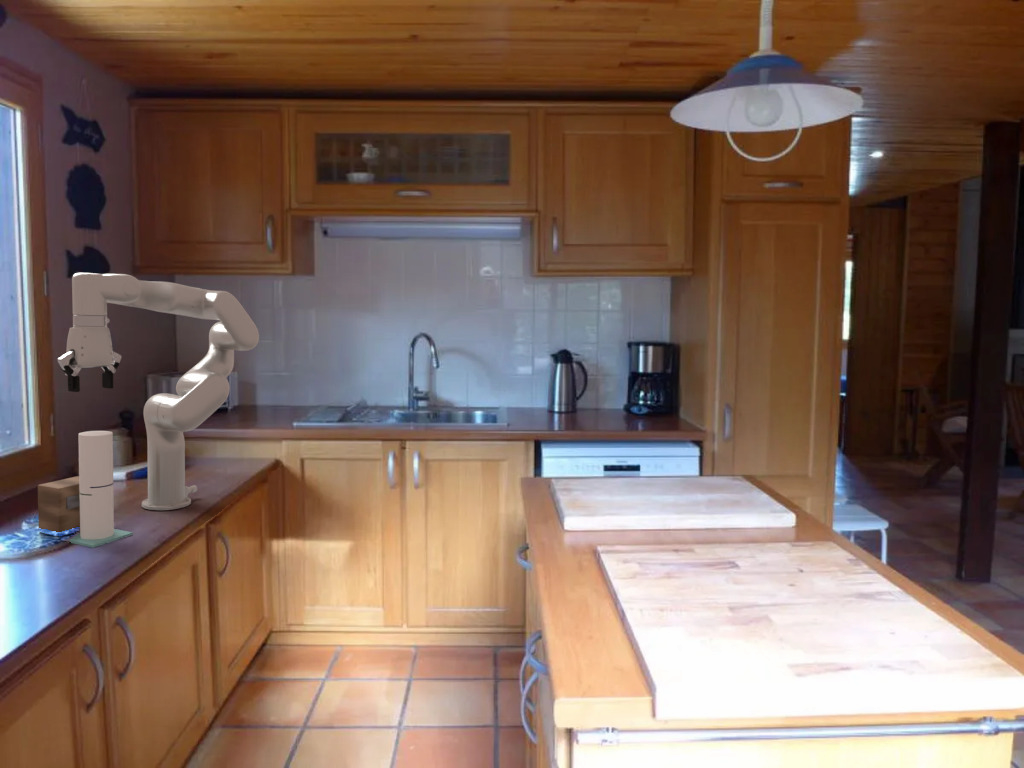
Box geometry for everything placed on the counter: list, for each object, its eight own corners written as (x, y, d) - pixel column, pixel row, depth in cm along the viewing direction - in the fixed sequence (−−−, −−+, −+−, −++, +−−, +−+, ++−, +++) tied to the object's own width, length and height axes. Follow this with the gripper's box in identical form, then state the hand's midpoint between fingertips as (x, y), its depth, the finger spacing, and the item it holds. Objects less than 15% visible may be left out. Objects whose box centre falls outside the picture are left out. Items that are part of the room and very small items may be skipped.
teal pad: (100, 528, 186) (100, 525, 186) (132, 534, 182) (132, 532, 182) (59, 540, 175) (59, 538, 175) (93, 547, 172) (93, 545, 172)
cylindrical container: (112, 538, 177) (110, 435, 174) (77, 540, 174) (75, 436, 172) (115, 529, 183) (114, 430, 181) (83, 531, 181) (81, 431, 178)
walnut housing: (81, 520, 191) (80, 474, 190) (104, 524, 189) (103, 478, 187) (37, 532, 180) (35, 484, 179) (60, 537, 177) (59, 488, 176)
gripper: (108, 321, 195) (109, 385, 197) (47, 321, 179) (48, 391, 181) (130, 322, 193) (130, 388, 194) (69, 323, 176) (70, 394, 178)
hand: (91, 389), depth 188 cm, fingers open, 9 cm apart
